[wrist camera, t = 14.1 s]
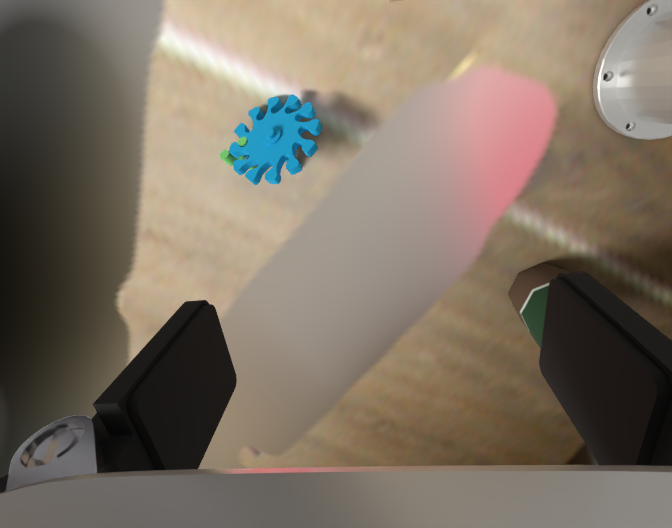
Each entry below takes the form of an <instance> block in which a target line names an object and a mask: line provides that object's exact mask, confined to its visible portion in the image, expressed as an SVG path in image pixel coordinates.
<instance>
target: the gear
mask: <svg viewBox="0 0 672 528" xmlns="http://www.w3.org/2000/svg"><path fill="white" fill-rule="evenodd" d="M301 105H302V104H301V102H300V100H299V99H298V97H296V96H295V95H290V96H289V97H288V99H287V101H286V103H285V105H284V106H283V108H282V102H281V101H280V99H279V98H278V97H273V98H269V100H268V110H267V113H266V115H265V117H264V118H263V112H262V111H261V110H260V109H259V107H255V108H253V109H252V110H250V111H249V113H248V114H249V116H250V117H251V118H252V120H253V129H252V131H251V132H249V129H248V128H247V127H246V126H245V125H244V124H243V123H241V124H239V125H238V126H237V128H236V129H235V130H234V132H235V133H236V134H237V135H238V137H239V138H240V139H239V140H238V143H237V142H234V143H232V144H231V146H230V149H229V151H227V150H224V151H222V152H221V154H220V158H221V159H222V160H224V161H225V162H226V163H227V164H228V165H229V166H232V165H233V167H234V170H235V171H236V172H237V173H238V174H239V175H242V174H244V173H245V172H246V171H247V170H248V169H250V170H249V171H248V172H247V173H246V174H245V176H246V178H247V179H248V180H249V181H250V182H252V183H253V184H255V185H257V184H258V183H259V182H260V180H261V177H262V175H263V174H264V172H265V171H266V170H267V169H269V168H270V167H271V166H273V167H272V168H271V169H270V170H269V171H268V172H267V173H266V174H265V179H266V180H267V181H268V182H269V183H270V184H279V183H280V181H281V176H280V172H281V168H282V166H283V164H284V162H285V161H286V162H287V164H286V169H287V170H288V171H289V172H290V174H291V175H293V174H296V173H298V172H300V171H301V170H302V165H301V164H300V163H299V161H298V160H297V159H296V150H297V148H298V147H300V146H302V150H303V151H304V153H305V154H306V155H307V156H308V157H311V156H312V155H313V154H314V153H315V152H316V151H317V149H318V147H317V146H316V144H315V143H314V141H313V140H306V139H303V138H302V137H301V135H302V133H303V132H305V131H309V132H310V133H311V134H312V135H313V136H318V135H319V134H320V132H321V128H322V125H321V123H320V121H319V120H318V119H313V120H311V121H308V122H299V121H300V120H301V119H302V118H307V119H311V118H314V117H315V116H316V113H315V110H314V108H313V106H312V105H311V103H310V102H307V103H305V104H304V105H303V106H302V107H301ZM300 107H301V108H300ZM281 108H282V109H281ZM299 108H300V109H299ZM297 109H299V110H297ZM294 110H297V111H295V112H293V113H290V112H292V111H294ZM277 111H278V112H277ZM276 112H277V113H276ZM262 118H263V119H262ZM256 165H258V166H256Z"/></svg>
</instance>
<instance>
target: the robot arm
mask: <svg viewBox="0 0 672 528" xmlns="http://www.w3.org/2000/svg"><path fill="white" fill-rule="evenodd" d="M647 10H648V13H647ZM604 74H605V78H604V79H603V76H604ZM593 97H594V101H595V106H596V109H597V111H598V113H599V115H600V117H601V118H602V120H603V121H604V122H605V123H606V125H607V126H608V127H610V128H611V129H613V130H614V131H615V132H617V133H619V134H622V135H624V136H627V137H631V138H637V139H649V140H652V139H660V138H666V137H670V136H672V0H647V1H645V2H644V3H642V4H641V5H640V6H639V7H637V8H636V9H635V10H633V11H632V12H631V13H630V14H629V15H628V16H627V17H626V18H625V19H624V20H623V21H622V22H621V23H620V24H619V25H618V27H617V28H616V29H615V31H614V32H613V34H612V35H611V36H610V38H609V39H608V41H607V43H606V45H605V47H604V48H603V50H602V52H601V54H600V57H599V60H598V63H597V65H596V69H595V74H594V80H593ZM626 125H627V127H626ZM539 364H540V370H541V373H542V375H543V376H544V378H545V380H546V381H547V383H548V384H549V386H550V388H551V389H552V391H553V392H554V394H555V396H556V397H557V399H558V400H559V402H560V403H561V405H562V407H563V408H564V410H565V411H566V413H567V415H568V416H569V418H570V419H571V421H572V423H573V424H574V426H575V427H576V429H577V431H578V432H579V434H580V435H581V437H582V438H583V440H584V442H585V443H586V445H587V446H588V448H589V450H590V451H591V453H592V454H593V456H594V457H595V459H596V461H597V462H598V464H599V465H493V466H379V467H300V468H243V469H198V467H199V465H200V463H201V461H202V459H203V457H204V454H205V452H206V450H207V448H208V446H209V443H210V441H211V439H212V437H213V435H214V432H215V431H216V428H217V426H218V424H219V422H220V420H221V418H222V415H223V413H224V411H225V409H226V407H227V404H228V402H229V400H230V398H231V396H232V393H233V391H234V389H235V387H236V373H235V370H234V367H233V364H232V361H231V357H230V354H229V351H228V348H227V344H226V341H225V338H224V335H223V332H222V328H221V325H220V322H219V319H218V316H217V312H216V309H215V307H214V306H213V305H212V304H211V305H209V303H208V302H207V301H206V300H200V301H188V302H185V303H184V304H183V305H182V306H181V307H180V308H179V309H178V310H177V311H176V312H175V314H174V315H173V316H172V317H171V318H170V319H169V320H168V321H167V322H166V324H165V325H164V326H163V327H162V328H161V329H160V330H159V331H158V332H157V334H156V335H155V336H154V337H153V338H152V339H151V340H150V341H149V342H148V344H147V345H146V346H145V347H144V348H143V349H142V350H141V351H140V352H139V354H138V355H137V356H136V357H135V358H134V359H133V360H132V361H131V362H130V364H129V365H128V366H127V367H126V368H125V369H124V370H123V371H122V372H121V374H120V375H119V376H118V377H117V378H116V379H115V380H114V381H113V382H112V384H111V385H110V386H109V387H108V388H107V389H106V390H105V391H104V392H103V394H102V395H101V396H100V397H99V398H98V399H97V400H96V401H95V402H94V404H93V406H94V408H95V409H96V411H97V413H96V415H95V416H94V417H93V418H92V419H91V418H88V417H87V416H85V415H75V416H70V417H66V418H63V419H60V420H58V421H55V422H53V423H51V424H50V425H48V426H46V427H44V428H42V429H41V430H40V431H38V432H37V433H35V434H34V435H32V436H31V437H30V438H29V439H28V440H27V441H26V442H24V443H23V444H22V445H21V447H20V448H19V449H18V451H17V452H16V453H15V454H14V457H13V459H12V461H11V465H10V470H9V474H8V475H6V476H4V477H2V478H0V528H672V341H671V340H670V339H669V338H668V337H666V336H665V335H664V334H663V333H661V332H660V331H659V330H658V329H656V328H655V327H654V326H653V325H651V324H650V323H649V322H648V321H646V320H645V319H644V318H643V317H641V316H640V315H639V314H638V313H636V312H635V311H634V310H633V309H631V308H630V307H629V306H628V305H626V304H625V303H624V302H623V301H621V300H620V299H619V298H618V297H616V296H615V295H614V294H613V293H611V292H610V291H609V290H608V289H606V288H605V287H604V286H603V285H601V284H600V283H599V282H598V281H596V280H595V279H594V278H593V277H591V276H590V275H589V274H588V273H586V272H571V273H559V274H558V275H557V277H556V279H552V280H551V281H550V283H549V288H548V296H547V304H546V312H545V320H544V328H543V336H542V344H541V352H540V360H539Z"/></svg>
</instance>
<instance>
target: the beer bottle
mask: <svg viewBox="0 0 672 528" xmlns="http://www.w3.org/2000/svg"><path fill="white" fill-rule="evenodd" d="M559 273H571V272H570V271H568V270H567V269H564V268H560V267H556V266H552V265H549V264H545V263H541V264H539V265H536V266H534V267H532V268H530V269H527V270H525V271H523V272H520V273H519V274H518V276H517V277H516V279H515V281H514V283H513V285H512V287H511V289H510V291H509V293H508V295H509V297H510V299H511V301H512V303H513V305H514V307H515V309H516V311H517V313H518V315H519V317H520V319H521V320H522V322H523V323H524V325H525V326H526V328H527V329H528V331H529V332H530V334H531V335H532V336H533V338H534V339H535V341H536V342H537V344H538V345H539V347H540V348H541V344H542V336H543V328H544V320H545V312H546V304H547V296H548V288H549V283H550V281H551V280H552V279H556V277H557V275H558V274H559Z"/></svg>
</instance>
